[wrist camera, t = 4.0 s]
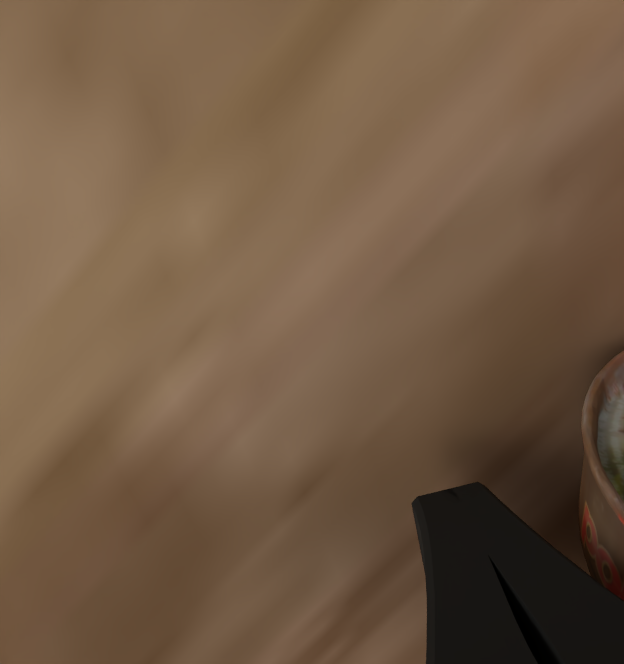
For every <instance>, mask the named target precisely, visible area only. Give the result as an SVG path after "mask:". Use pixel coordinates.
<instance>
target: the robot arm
mask: <svg viewBox="0 0 624 664" xmlns="http://www.w3.org/2000/svg"><path fill="white" fill-rule="evenodd" d="M412 508H413V513H414V518H415V524H416V529H417V534H418V539H419V544H420V549H421V555H422V560H423V565H424V570H425V575H426V592H427V650H426V664H624V601H623V600H622V599H621V598H619V597H618V596H616V595H615V594H614V593H612V592H611V591H609V590H608V589H607V588H605V587H604V586H603V585H601V584H600V583H599V582H597V581H596V580H595V579H594V578H592V577H591V576H590V575H588V574H587V573H586V572H584V571H583V570H582V569H581V568H579V567H578V566H577V565H576V564H574V563H573V562H572V561H571V560H569V559H568V558H567V557H566V556H564V555H563V554H562V553H561V552H559V551H558V550H557V549H555V548H554V547H553V546H552V545H551V544H549V543H548V542H547V541H546V540H545V539H543V538H542V537H541V536H540V535H539V534H537V533H536V532H535V531H534V530H533V529H532V528H530V527H529V526H528V525H527V524H526V523H525V522H524V521H522V520H521V519H520V518H519V517H518V516H517V515H516V514H514V513H513V512H512V511H511V510H510V509H509V508H508V507H507V506H506V505H505V504H503V503H502V502H501V501H500V500H499V499H498V498H497V497H496V496H495V495H494V494H493V493H492V492H491V491H490V490H489V489H488V488H487V487H485V486H484V485H482V484H481V483H479V482H475V483H471V484H467V485H463V486H459V487H455V488H451V489H447V490H442V491H438V492H434V493H430V494H426V495H422V496H418V497H417V498H416V499H415V500H414V501H413V503H412Z"/></svg>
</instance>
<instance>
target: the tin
mask: <svg viewBox="0 0 624 664" xmlns="http://www.w3.org/2000/svg"><path fill="white" fill-rule="evenodd" d="M581 431H582V438H583V445H584V459H583V468H582V476H581V485H580V496H579V528H580V539H581V544H582V548H583V552H584V556H585V559H586V562H587V566H588V569H589V572H590V574H591V577H592V578H594V579H595V580H596V581H597V582H599V583H600V584H601V585H603V586H604V587H605V588H607V589H608V590H609V591H611V592H612V593H614V594H615V595H616V596H618V597H619V598H621V599H622V600H623V601H624V350H623V351H622V352H620V353H619V354H617V355H616V356H615V357H613V358H612V359H611V360H610V361H609V362H608V363H607V364H606V365H605V366H604V367H603V368H602V369H601V370H600V371H599V372H598V373H597V375H596V376H595V378H594V380H593V381H592V383H591V385H590V387H589V389H588V392H587V394H586V397H585V401H584V405H583V409H582V420H581Z"/></svg>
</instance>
